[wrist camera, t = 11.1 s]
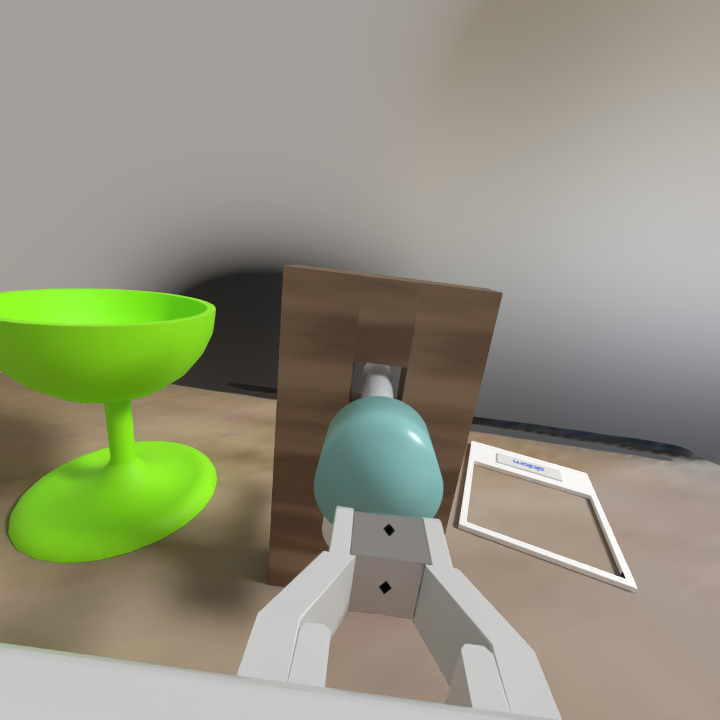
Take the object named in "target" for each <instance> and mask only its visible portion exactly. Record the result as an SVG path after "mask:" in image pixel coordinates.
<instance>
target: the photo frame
mask: <svg viewBox="0 0 720 720" xmlns="http://www.w3.org/2000/svg"><path fill="white" fill-rule="evenodd" d="M474 464H475V465H478V466H481V467H485V468H488V469H491V470H495V471H498V472H501V473H504V474H508V475H511V476H514V477H518V478H521V479H524V480H528V481H531V482H534V483H538V484H541V485H544V486H547V487H551V488H554V489H557V490H561V491H564V492H567V493H571V494H574V495H577V496H581V497H584V498H587V499H590V501H591V504H592V506H593V509H594V511H595V513H596V516H597V518H598V521H599V523H600V526H601V528H602V531H603V533H604V536H605V538H606V541H607V543H608V545H609V548H610V550H611V553H612V555H613V558H614V560H615V563H616V565H617V568H618V570H619V572H620V575H621V573H622V571H623V573H624V576H625V578H626V579H624V578H622V577H619V576H616V575H613V574H610V573H608V572H605V571H602V570H599V569H597V568H594V567H591V566H588V565H585V564H583V563H580V562H577V561H574V560H571V559H569V558H566V557H563V556H560V555H558V554H555V553H552V552H549V551H546V550H544V549H541V548H538V547H535V546H532V545H530V544H527V543H524V542H521V541H519V540H516V539H513V538H510V537H507V536H505V535H502V534H499V533H496V532H493V531H491V530H488V529H485V528H482V527H480V526H477V525H474V524H471V523H468V522H467V514H468V506H469V497H470V489H471V481H472V473H473V465H474ZM458 528H459V529H461V530H464V531H467V532H470V533H472V534H475V535H478V536H481V537H483V538H486V539H489V540H491V541H494V542H497V543H500V544H502V545H505V546H508V547H511V548H513V549H516V550H519V551H521V552H524V553H527V554H530V555H532V556H535V557H538V558H541V559H543V560H546V561H549V562H552V563H554V564H557V565H560V566H562V567H565V568H568V569H571V570H573V571H576V572H579V573H582V574H584V575H587V576H590V577H592V578H595V579H598V580H601V581H603V582H606V583H609V584H612V585H614V586H617V587H620V588H623V589H625V590H628V591H631V592H633V593H636V592H637V590H638V588H637V586H636V584H635V581H634V579H633V577H632V575H631V572H630V570H629V568H628V566H627V563H626V561H625V559H624V557H623V554H622V552H621V550H620V548H619V545H618V543H617V541H616V539H615V536H614V534H613V532H612V530H611V527H610V525H609V523H608V521H607V518H606V516H605V514H604V512H603V509H602V507H601V505H600V502H599V500H598V498H597V496H596V493H595V491H594V489H593V487H592V484H591V482H590V480H589V478H588V475H587V473H584V472H580V471H577V470H573V469H570V468H566V467H563V466H559V465H556V464H552V463H549V462H545V461H541V460H538V459H534V458H531V457H527V456H524V455H520V454H517V453H513V452H510V451H506V450H503V449H499V448H496V447H492V446H488V445H485V444H481V443H478V442H474V441H472V442H471V447H470V454H469V460H468V467H467V473H466V480H465V486H464V493H463V499H462V506H461V512H460V519H459V525H458Z"/></svg>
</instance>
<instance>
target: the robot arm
mask: <svg viewBox="0 0 720 720" xmlns="http://www.w3.org/2000/svg"><path fill="white" fill-rule="evenodd" d="M348 611H354V612H364V613H374V614H382V615H388V616H394V617H400V618H406V619H412V620H413V622H414V624H415V626H416V628H417V630H418V631H419V633H420V635H421V637H422V638H423V640H424V642H425V644H426V645H427V647H428V649H429V651H430V653H431V654H432V656H433V658H434V660H435V661H436V663H437V665H438V667H439V668H440V670H441V672H442V674H443V675H444V677H445V679H446V681H447V683H448V684H449V686H450V688H449V692H448V695H447V699H446V702H445V704H442V703H435V702H427V701H420V700H413V699H406V698H399V697H391V696H384V695H377V694H370V693H363V692H355V691H348V690H341V689H334V688H327V687H325V680H326V671H327V663H328V654H329V645H330V639H331V637H332V636H333V634H334V633H335V631H336V630H337V629H338V627H339V626H340V624H341V623H342V621H343V620H344V618H345V617H346V615H347V614H348ZM0 720H562V719H561V716H560V714H559V711H558V709H557V706H556V704H555V701H554V699H553V696H552V694H551V691H550V689H549V686H548V684H547V681H546V679H545V676H544V674H543V671H542V669H541V666H540V664H539V661H538V659H537V656H536V654H535V651H534V650H533V649H532V648H531V647H530V646H529V645H528V644H527V643H526V642H525V641H524V640H523V638H522V637H521V636H520V635H519V634H518V633H517V632H516V631H515V630H514V629H513V628H512V627H511V625H510V624H509V623H508V622H507V621H506V620H505V619H504V618H503V617H502V616H501V615H500V614H499V612H498V611H497V610H496V609H495V608H494V607H493V606H492V605H491V604H490V603H489V602H488V601H487V599H486V598H485V597H484V596H483V595H482V594H481V593H480V592H479V591H478V590H477V589H476V588H475V586H474V585H473V584H472V583H471V582H470V581H469V580H468V579H467V578H466V577H465V576H464V575H463V573H462V572H461V571H460V570H459V569H456V568H453V567H452V563H451V559H450V555H449V551H448V547H447V543H446V539H445V535H444V531H443V527H442V523H441V521H440V520H439V519H435V518H425V517H422V518H421V517H414V516H406V515H397V514H389V513H383V512H376V511H370V510H364V509H357V508H354V509H353V508H349V507H342V506H337V507H336V509H335V515H334V521H333V527H332V533H331V539H330V545H329V552H327V551H323V552H322V553H321V554H320V555H318V556H317V557H316V558H315V559H314V560H313V561H312V562H311V563H310V564H309V565H308V566H307V567H306V568H305V569H304V570H303V571H302V572H301V573H300V574H299V575H298V576H296V577H295V578H294V579H293V580H292V581H291V582H290V583H289V584H288V585H287V586H286V587H285V588H284V589H283V590H282V591H281V592H280V593H279V594H278V595H277V596H276V597H275V598H273V599H272V600H271V601H270V602H269V603H268V604H267V605H266V606H265V607H264V608H263V609H262V610H261V611H260V612H259V613H258V614H257V617H256V620H255V623H254V626H253V629H252V632H251V635H250V638H249V641H248V644H247V647H246V650H245V653H244V655H243V658H242V661H241V664H240V667H239V670H238V673H237V675H232V674H225V673H218V672H210V671H203V670H196V669H189V668H181V667H174V666H167V665H159V664H152V663H145V662H138V661H130V660H123V659H116V658H109V657H101V656H94V655H87V654H80V653H72V652H65V651H58V650H51V649H43V648H36V647H29V646H21V645H14V644H7V643H0Z"/></svg>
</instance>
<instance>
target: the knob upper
mask: <svg viewBox="0 0 720 720" xmlns="http://www.w3.org/2000/svg"><path fill="white" fill-rule="evenodd" d="M314 494H315V499H316V502H317V505H318V507H319V509H320V511H321V512H322V514H323V515H324V517H325V518H326V519H327V520H328V521H329V522H330V523H331V524H332V525H333V521H334V515H335V509H336V507H337V506H342V507H349V508H353V509H354V508H357V509H364V510H370V511H376V512H383V513H389V514H397V515H406V516H414V517H421V518H422V517H425V518H433V517H434V516H435V514H436V513H437V511H438V509H439V507H440V504H441V501H442V496H443V480H442V476H441V472H440V469H439V466H438V462H437V459H436V456H435V452H434V449H433V446H432V442H431V439H430V436H429V432H428V429H427V426H426V424H425V422H424V421H423V419H422V418H421V416H420V415H419V414H418V413H417V412H416V411H415V410H414V409H413V408H412V407H410V406H409V405H407V404H406V403H404V402H402V401H400V400H397V399H394V398H393V392H392V384H391V376H390V368H389V365H381V364H373V363H367V364H366V365H365V368H364V376H363V386H362V394H361V399H358V400H355V401H353V402H351V403H349V404H348V405H346V406H345V407H343V408H342V409H341V410H340V411H339V412H338V413H337V414H336V415H335V417H334V418H333V419H332V421H331V423H330V425H329V428H328V431H327V434H326V438H325V441H324V445H323V449H322V452H321V456H320V459H319V463H318V466H317V470H316V473H315V478H314Z"/></svg>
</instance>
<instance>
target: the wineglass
mask: <svg viewBox="0 0 720 720" xmlns="http://www.w3.org/2000/svg"><path fill="white" fill-rule="evenodd" d="M215 312H216V309H215V307H214V305H212V304H210V303H208V302H206V301H203V300H199V299H196V298H191V297H185V296H180V295H174V294H166V293H158V292H147V291H136V290H118V289H84V288H82V289H80V288H79V289H36V290H20V291H9V292H0V371H1V372H2V373H4V374H6V375H7V376H9V377H11V378H12V379H14V380H15V381H17V382H19V383H20V384H22V385H24V386H25V387H27V388H29V389H31V390H34V391H37V392H40V393H43V394H47V395H50V396H54V397H57V398H61V399H64V400H68V401H72V402H80V403H104V405H105V414H106V422H107V431H108V440H109V447H106V448H102V449H99V450H97V451H94V452H91V453H88V454H85V455H82V456H80V457H77V458H75V459H73V460H71V461H69V462H67V463H65V464H63V465H61V466H59V467H57V468H56V469H54V470H53V471H51V472H50V473H48V474H46V475H45V476H43V477H42V478H40V479H39V480H38V481H37V482H36V483H35V484H34V485H33V486H32V487H31V488H29V489H28V490H27V491H26V492H25V493H24V494H23V495H22V497H21V498H20V500H19V501H18V503H17V505H16V506H15V508H14V510H13V511H12V513H11V515H10V519H9V529H8V536H9V537H10V539H11V541H12V542H13V544H14V546H15V547H16V549H17V550H19V551H21V552H23V553H25V554H27V555H29V556H31V557H33V558H34V559H39V560H45V561H52V562H59V563H72V562H86V561H97V560H101V559H105V558H109V557H113V556H118V555H122V554H126V553H130V552H132V551H134V550H137V549H139V548H142V547H144V546H147V545H149V544H152V543H154V542H157V541H159V540H161V539H163V538H164V537H166V536H168V535H169V534H171V533H173V532H174V531H176V530H178V529H179V528H181V527H183V526H184V525H185V524H187V523H188V522H189V521H190V520H191V519H192V518H193V517H195V516H196V515H197V514H198V513H199V512H200V511H201V510H202V509H203V508H204V507H205V505H206V504H207V502H208V501H209V499H210V498H211V497H212V495H213V493H214V489H215V486H216V483H217V478H216V471H215V468H214V466H213V465H212V463H211V462H210V460H209V459H208V457H207V456H205V455H204V454H202V453H201V452H199V451H198V450H196V449H195V448H192V447H189V446H186V445H183V444H180V443H174V442H167V441H141V442H134V431H133V420H132V409H131V400H132V399H136V398H140V397H144V396H147V395H150V394H153V393H155V392H157V391H159V390H161V389H163V388H164V387H166V386H167V385H169V384H171V383H172V382H174V381H175V380H177V379H179V378H180V377H182V376H184V374H185V373H186V372H187V371H188V370H189V369H190V367H192V365H193V364H194V363H195V362H196V361H197V360H198V359H199V357H200V356H201V355H202V353H203V352H204V350H205V348H206V346H207V344H208V341H209V339H210V337H211V335H212V333H213V327H214V319H215Z"/></svg>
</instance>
